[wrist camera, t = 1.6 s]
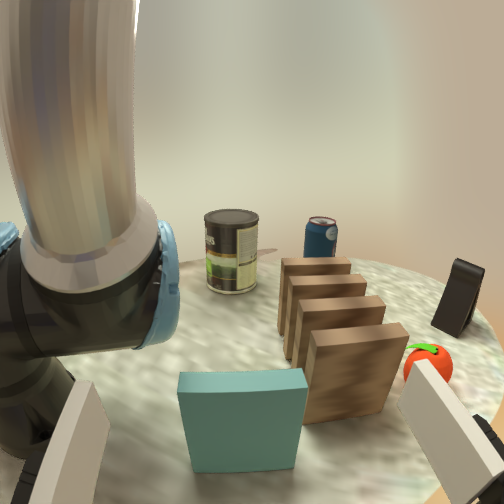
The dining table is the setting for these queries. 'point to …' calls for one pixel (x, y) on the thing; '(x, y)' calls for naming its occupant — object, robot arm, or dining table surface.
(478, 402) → the dining table surface
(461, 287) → the phone stand
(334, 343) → the walnut domino
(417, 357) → the clementine
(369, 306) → the walnut domino
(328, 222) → the soda can
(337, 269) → the walnut domino
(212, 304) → the dining table surface
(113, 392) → the dining table surface
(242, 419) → the teal domino
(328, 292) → the walnut domino
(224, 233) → the coffee can
